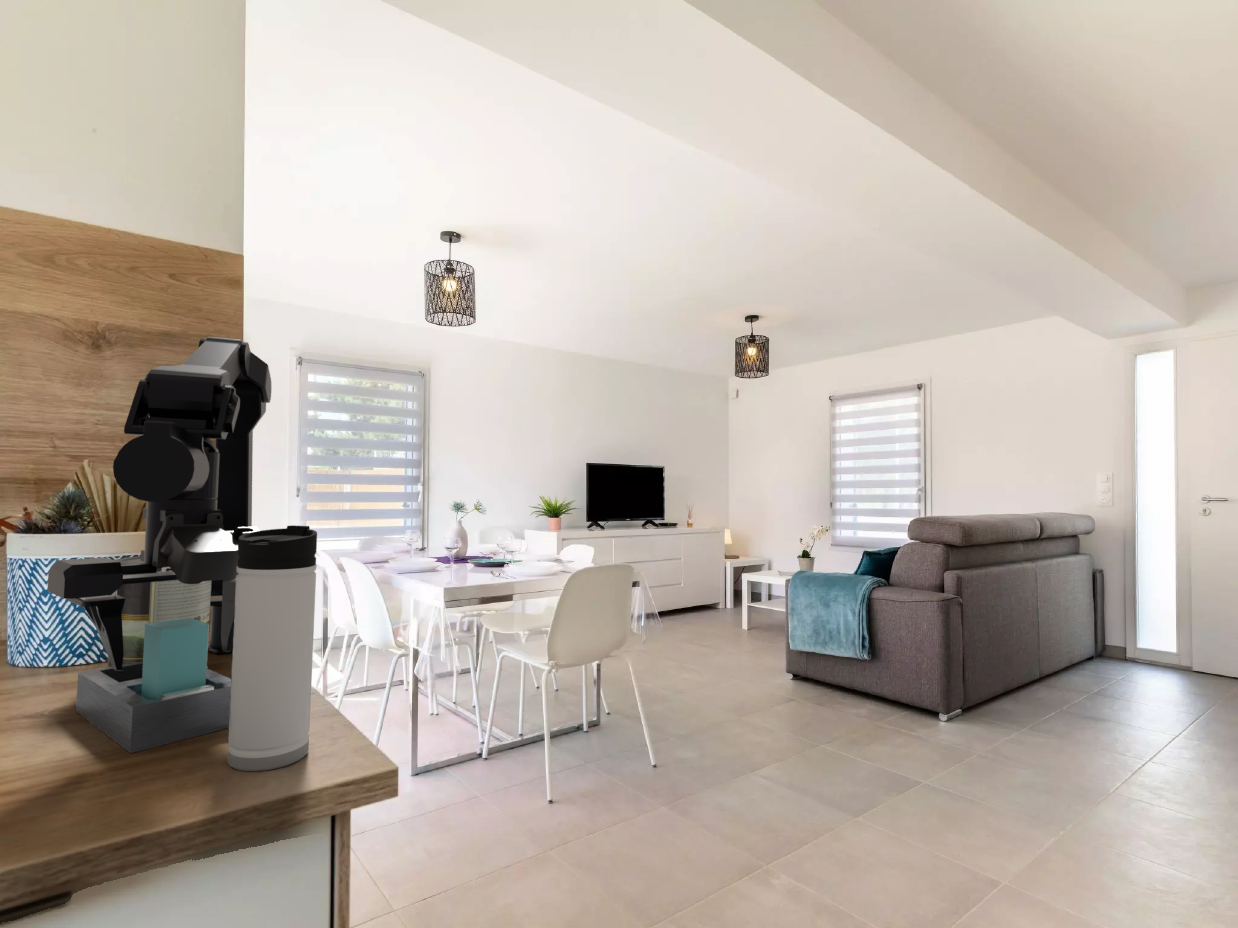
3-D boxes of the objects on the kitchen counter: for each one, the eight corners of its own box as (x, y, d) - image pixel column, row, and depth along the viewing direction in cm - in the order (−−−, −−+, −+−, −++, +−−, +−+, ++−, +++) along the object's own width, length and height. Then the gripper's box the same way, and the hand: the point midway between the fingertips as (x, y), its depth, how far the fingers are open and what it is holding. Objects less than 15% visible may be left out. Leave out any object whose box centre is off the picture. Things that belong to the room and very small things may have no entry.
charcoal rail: (75, 711, 67) (78, 668, 67) (176, 690, 74) (178, 652, 74) (130, 753, 57) (132, 703, 57) (239, 724, 64) (241, 680, 64)
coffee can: (90, 690, 73) (97, 564, 74) (123, 666, 83) (129, 554, 83) (197, 683, 77) (203, 563, 77) (216, 660, 87) (221, 553, 87)
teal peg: (139, 728, 63) (145, 623, 63) (186, 717, 66) (191, 617, 66) (155, 739, 60) (161, 630, 61) (203, 727, 64) (208, 623, 64)
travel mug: (324, 743, 60) (333, 526, 61) (280, 774, 54) (291, 531, 54) (260, 739, 61) (270, 524, 62) (209, 769, 54) (221, 528, 55)
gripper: (89, 502, 52) (78, 702, 51) (318, 501, 66) (312, 656, 66) (50, 497, 58) (40, 674, 58) (266, 497, 73) (260, 638, 73)
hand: (175, 659), depth 63 cm, fingers open, 9 cm apart
